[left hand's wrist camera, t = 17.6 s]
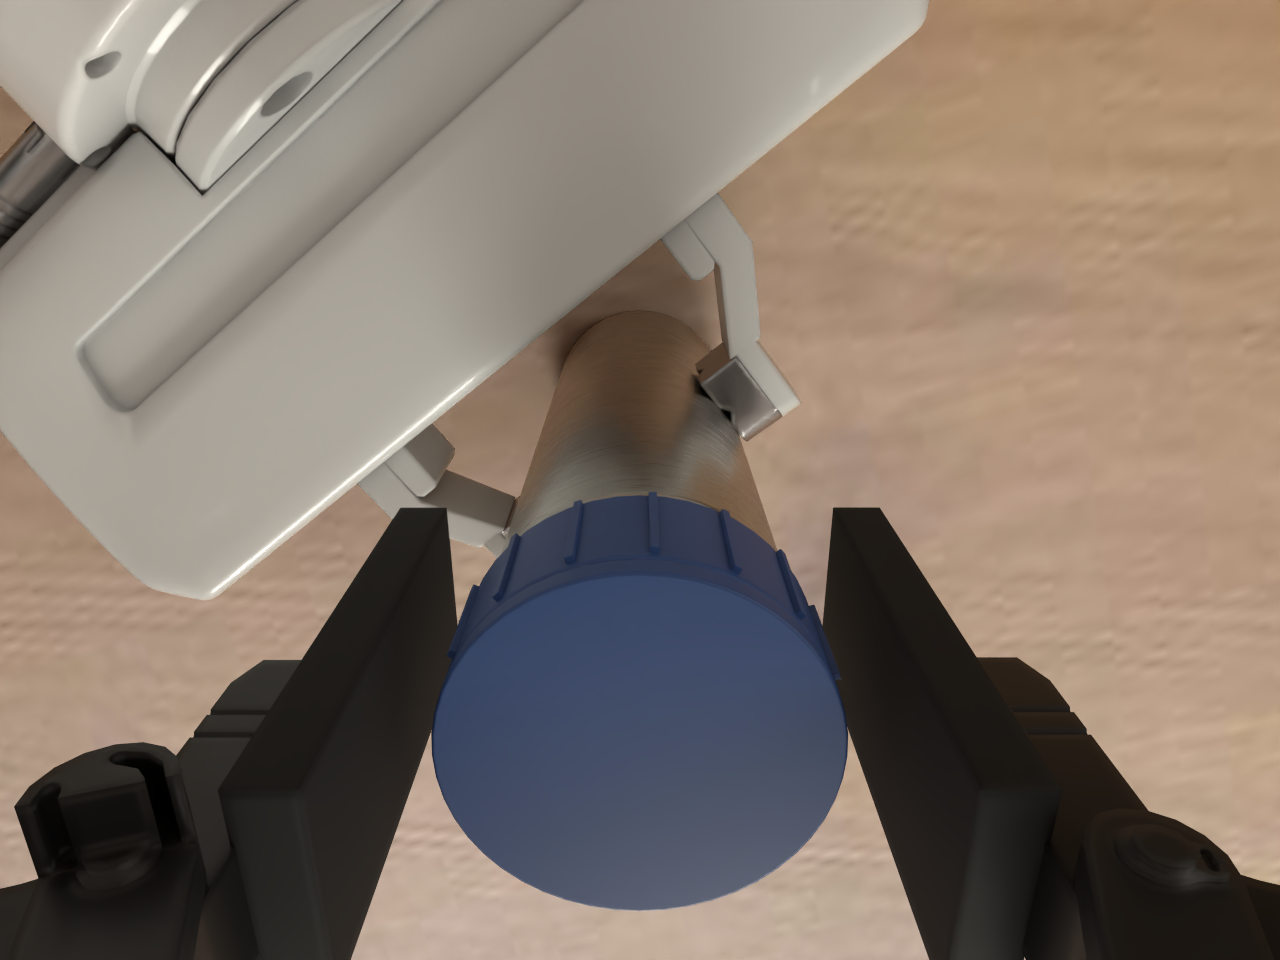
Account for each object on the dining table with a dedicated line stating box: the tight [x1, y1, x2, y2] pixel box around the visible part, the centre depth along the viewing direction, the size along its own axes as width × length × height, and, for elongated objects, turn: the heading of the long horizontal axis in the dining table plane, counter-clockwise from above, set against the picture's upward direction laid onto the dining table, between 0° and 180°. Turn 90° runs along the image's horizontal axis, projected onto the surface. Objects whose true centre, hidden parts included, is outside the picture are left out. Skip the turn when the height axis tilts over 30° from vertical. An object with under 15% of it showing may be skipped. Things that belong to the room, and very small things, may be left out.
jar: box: [501, 311, 777, 554], centre depth 18 cm, size 5×5×16 cm
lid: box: [432, 492, 848, 911], centre depth 11 cm, size 5×5×2 cm
